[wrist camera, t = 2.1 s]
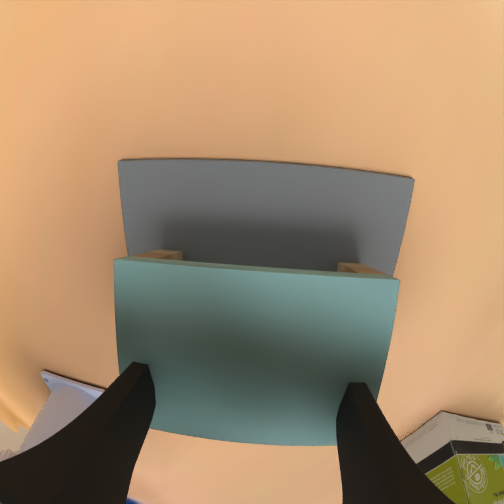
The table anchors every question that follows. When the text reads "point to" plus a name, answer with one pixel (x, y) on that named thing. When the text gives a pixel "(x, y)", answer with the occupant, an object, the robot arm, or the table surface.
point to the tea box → (461, 457)
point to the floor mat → (264, 212)
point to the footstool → (252, 344)
